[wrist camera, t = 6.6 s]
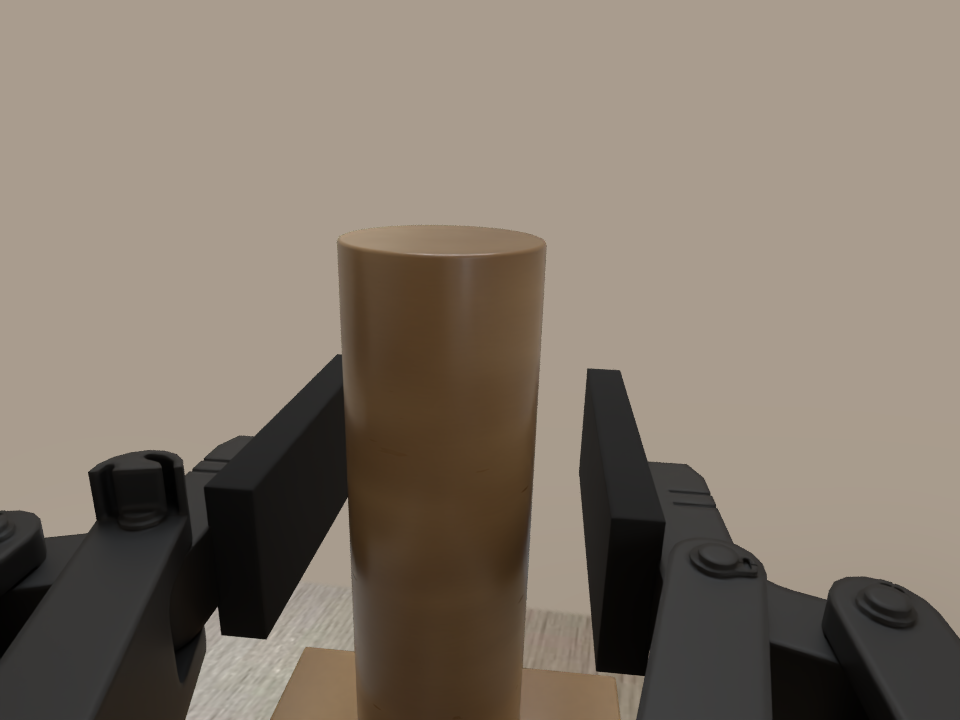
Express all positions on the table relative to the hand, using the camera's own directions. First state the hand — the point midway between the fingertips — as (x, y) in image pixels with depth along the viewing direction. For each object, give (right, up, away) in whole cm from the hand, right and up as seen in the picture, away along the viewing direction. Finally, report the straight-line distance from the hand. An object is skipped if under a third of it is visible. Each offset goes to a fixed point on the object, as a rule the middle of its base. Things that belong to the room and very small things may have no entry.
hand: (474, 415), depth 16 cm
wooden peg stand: (-1, -9, -2) cm, 10 cm away
